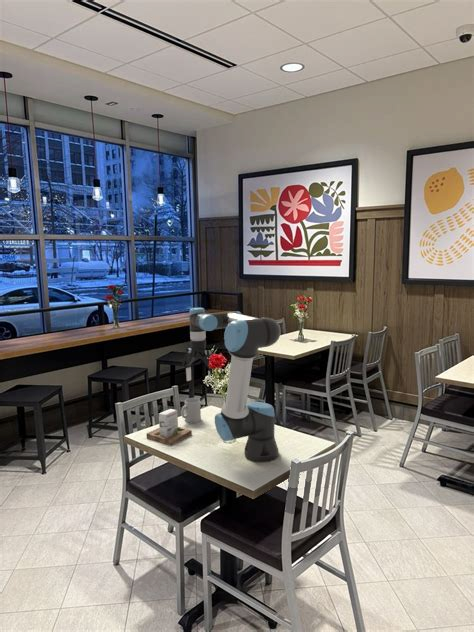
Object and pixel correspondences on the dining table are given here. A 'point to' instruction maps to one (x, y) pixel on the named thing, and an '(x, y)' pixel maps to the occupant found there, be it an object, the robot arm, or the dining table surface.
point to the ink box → (168, 423)
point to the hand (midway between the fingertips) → (199, 382)
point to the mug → (191, 410)
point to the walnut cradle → (172, 439)
